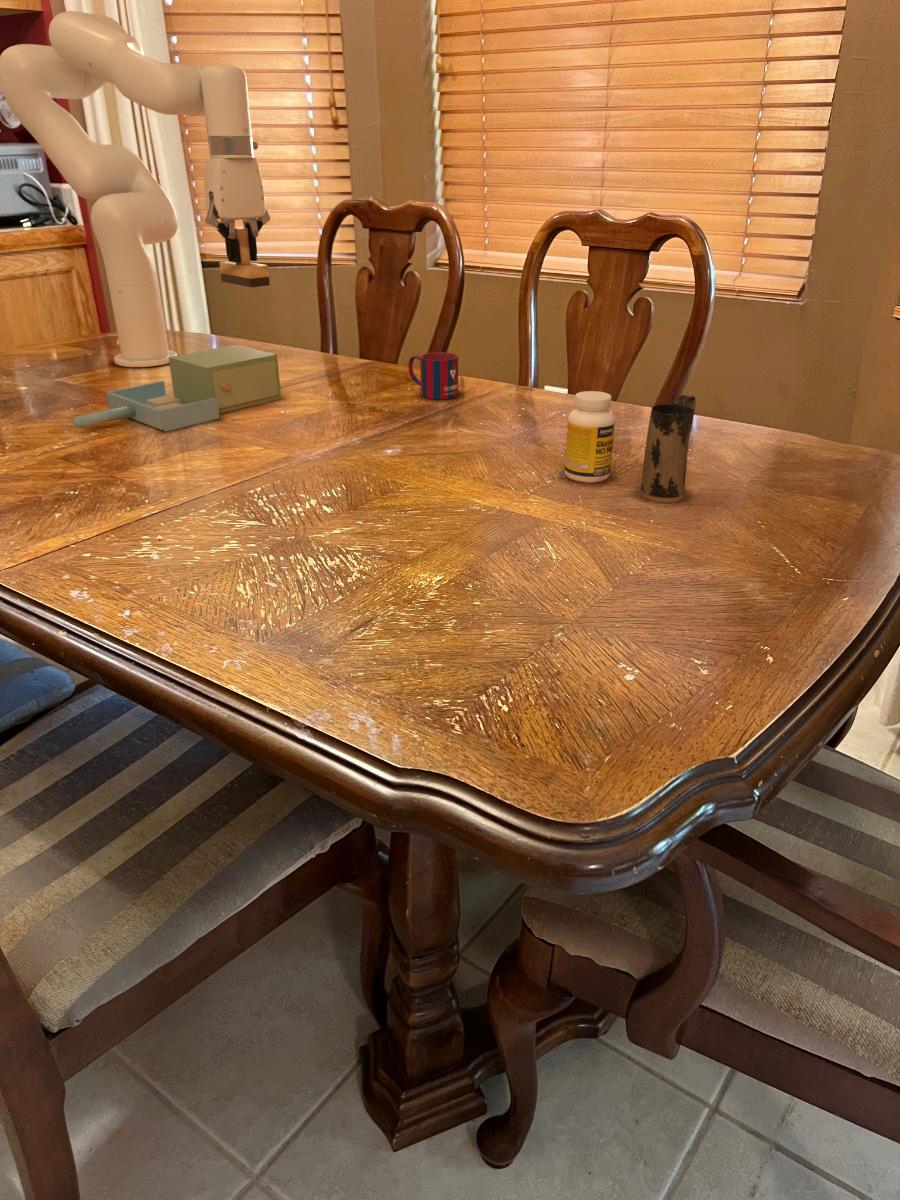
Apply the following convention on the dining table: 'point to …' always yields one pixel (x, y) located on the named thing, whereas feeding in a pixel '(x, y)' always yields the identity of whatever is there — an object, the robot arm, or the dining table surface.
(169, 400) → the felt
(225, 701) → the dining table surface
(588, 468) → the pill bottle
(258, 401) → the cabinet
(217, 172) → the robot arm
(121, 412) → the dustpan
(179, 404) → the felt
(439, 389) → the cup
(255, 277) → the tan two-tone stamp part
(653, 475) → the mug
